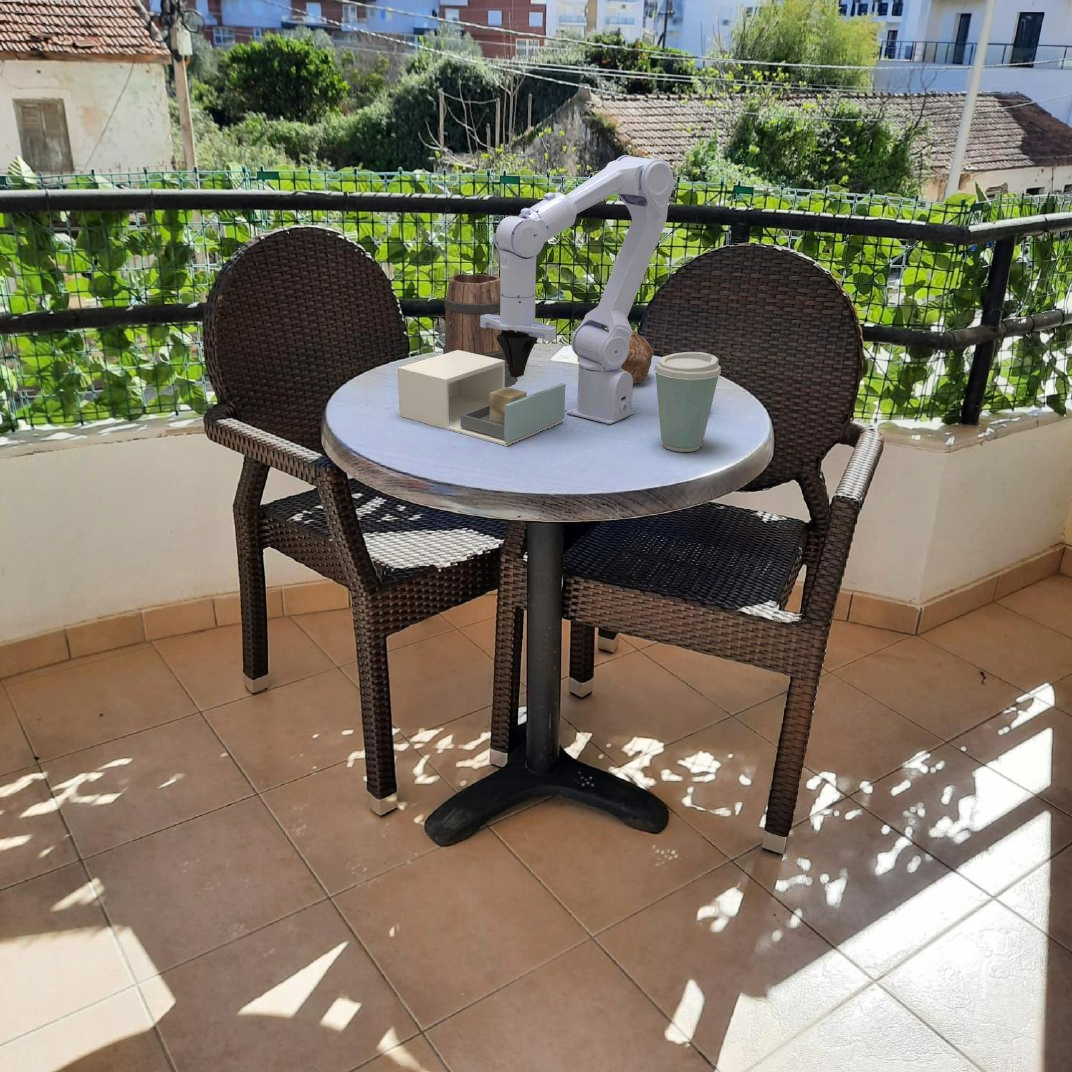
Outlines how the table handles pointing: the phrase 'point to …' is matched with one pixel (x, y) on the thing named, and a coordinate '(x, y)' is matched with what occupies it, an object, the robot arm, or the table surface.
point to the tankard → (473, 317)
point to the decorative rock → (638, 358)
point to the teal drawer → (520, 415)
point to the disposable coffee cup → (685, 398)
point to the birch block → (503, 402)
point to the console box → (451, 390)
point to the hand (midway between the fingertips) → (517, 375)
